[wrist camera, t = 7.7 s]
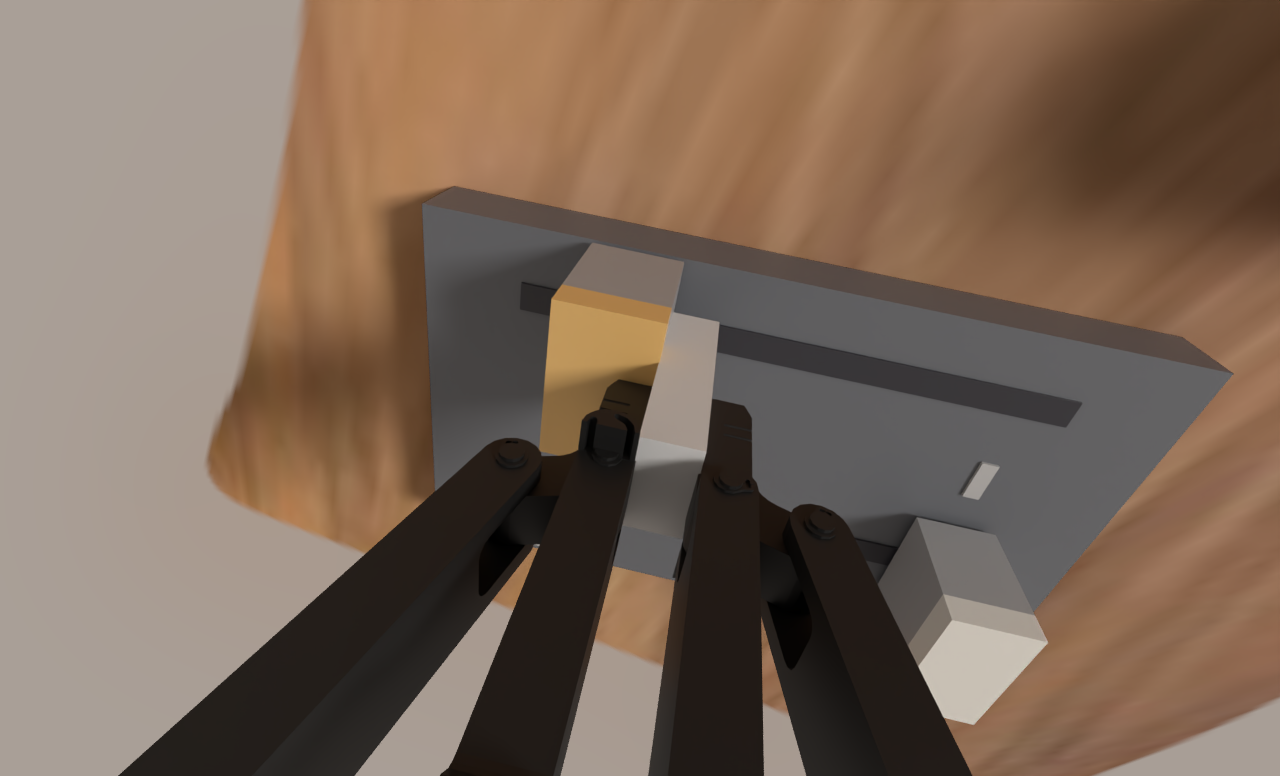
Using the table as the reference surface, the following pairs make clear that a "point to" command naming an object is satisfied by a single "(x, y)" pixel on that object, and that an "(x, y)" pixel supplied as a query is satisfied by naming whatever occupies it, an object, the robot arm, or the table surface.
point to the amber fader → (603, 335)
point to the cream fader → (961, 615)
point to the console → (830, 384)
